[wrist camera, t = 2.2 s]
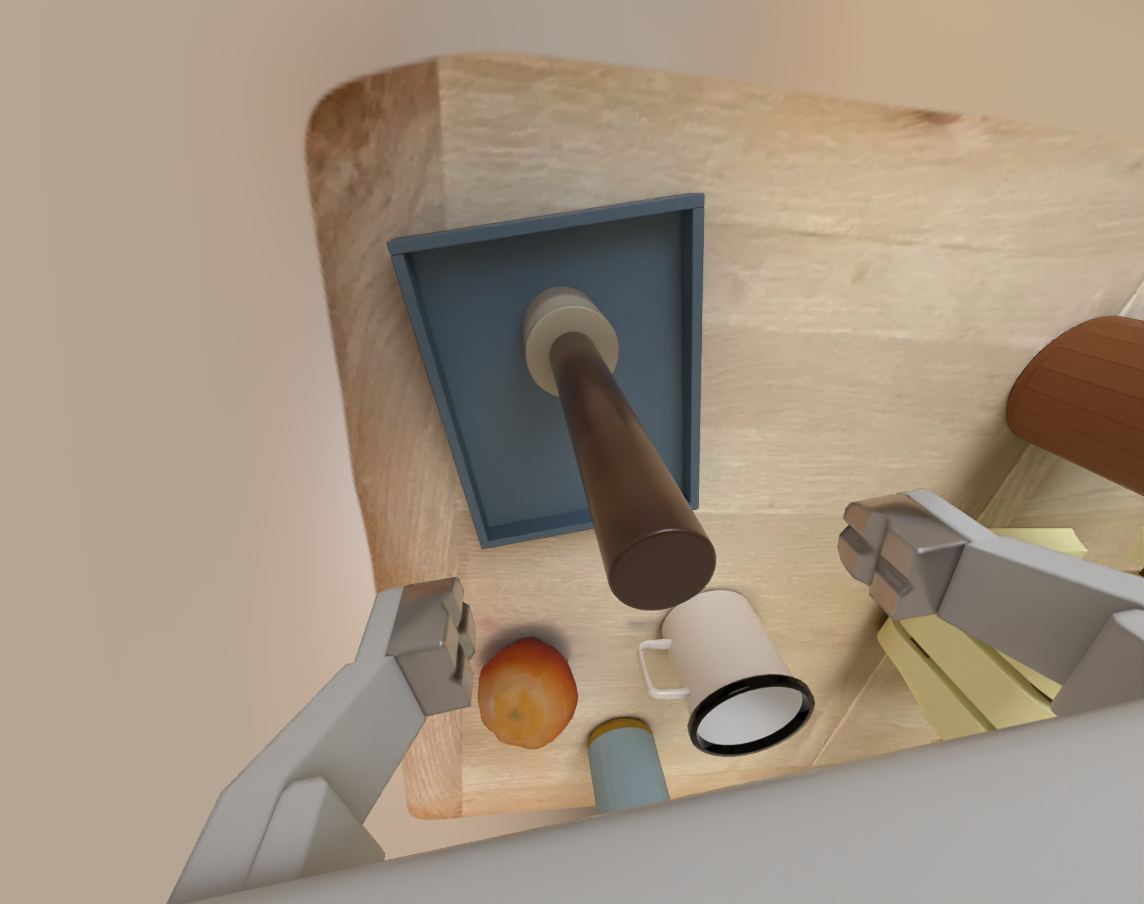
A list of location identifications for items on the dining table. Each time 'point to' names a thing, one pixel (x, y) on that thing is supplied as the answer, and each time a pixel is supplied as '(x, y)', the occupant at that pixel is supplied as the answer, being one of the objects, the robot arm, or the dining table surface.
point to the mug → (729, 676)
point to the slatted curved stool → (977, 661)
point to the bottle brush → (616, 457)
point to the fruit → (527, 694)
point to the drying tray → (497, 357)
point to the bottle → (625, 766)
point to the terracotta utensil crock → (1088, 399)
